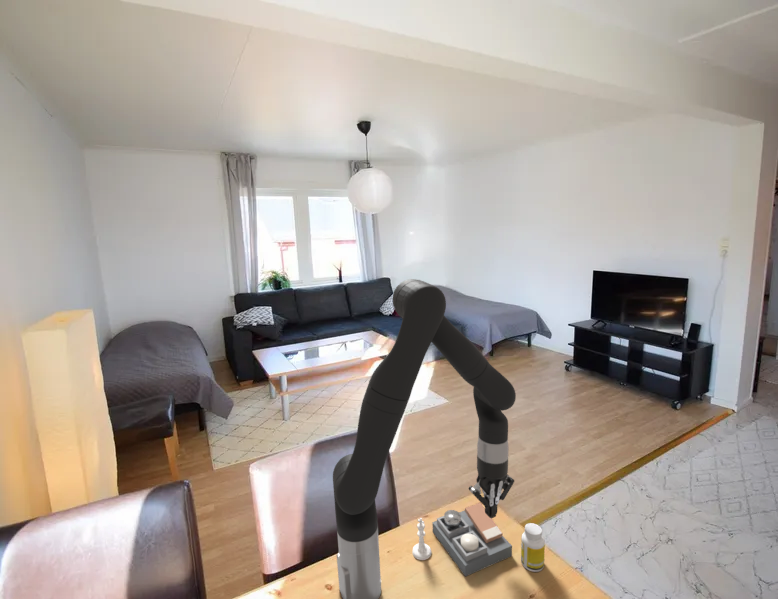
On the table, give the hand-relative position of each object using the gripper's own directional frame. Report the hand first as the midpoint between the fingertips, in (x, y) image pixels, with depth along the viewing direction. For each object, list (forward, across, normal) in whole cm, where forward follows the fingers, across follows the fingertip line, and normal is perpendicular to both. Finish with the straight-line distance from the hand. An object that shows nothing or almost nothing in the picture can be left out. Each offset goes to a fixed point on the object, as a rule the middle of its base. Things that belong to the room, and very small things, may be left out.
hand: (491, 515), depth 103 cm
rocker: (+5, 0, +4) cm, 6 cm away
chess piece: (+10, -16, +7) cm, 21 cm away
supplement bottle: (+10, +6, -8) cm, 14 cm away
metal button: (+5, -7, +8) cm, 12 cm away
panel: (+10, -4, +4) cm, 11 cm away
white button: (+7, -7, 0) cm, 9 cm away
